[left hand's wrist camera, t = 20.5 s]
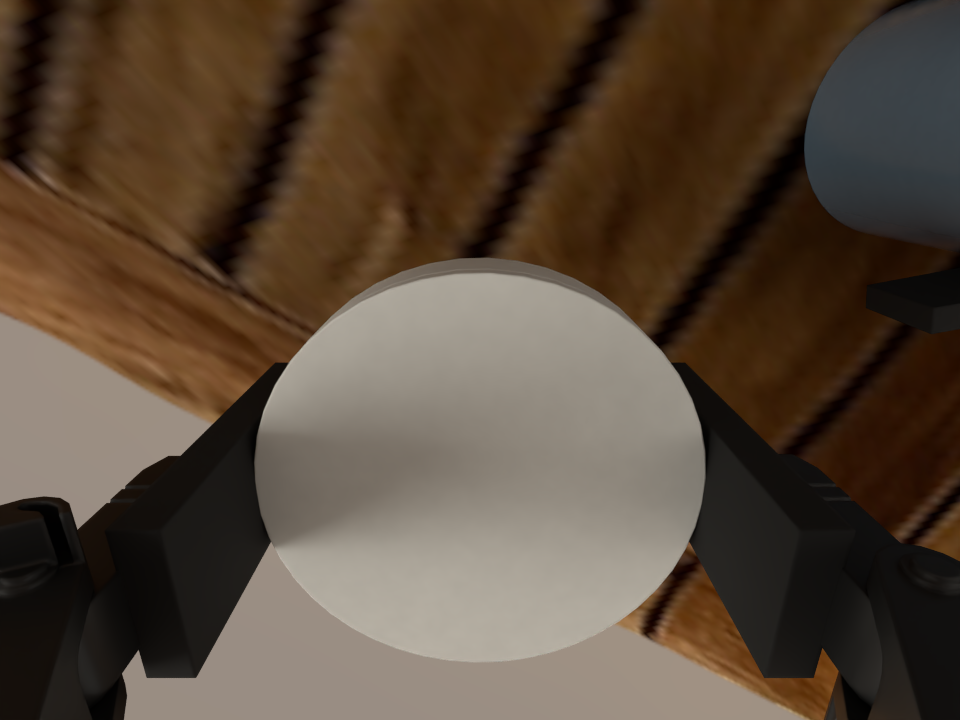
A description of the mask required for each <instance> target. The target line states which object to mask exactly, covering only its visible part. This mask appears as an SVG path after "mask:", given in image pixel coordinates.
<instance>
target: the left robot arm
mask: <svg viewBox="0 0 960 720" xmlns="http://www.w3.org/2000/svg"><path fill="white" fill-rule="evenodd" d="M288 364H289V363H275V364H274V365H273V366H272V367H271V368H269V369H268V370H267V371H266V372H265V373H264V374H263V375H262V376H261V377H260V378H259V379H258V380H257V381H256V382H255V383H254V384H253V385H252V386H251V387H250V388H249V389H248V390H247V391H246V392H245V393H244V394H243V395H242V396H241V397H240V398H239V399H238V400H237V401H236V402H235V403H234V404H233V405H232V406H231V407H230V408H229V409H228V410H227V411H226V412H225V413H224V414H223V415H222V416H221V417H220V418H219V419H218V420H217V421H216V422H215V423H214V424H213V425H211V426H210V427H209V428H208V429H207V430H206V431H205V432H204V433H203V434H202V435H201V436H200V437H199V438H198V439H197V440H196V441H195V442H194V443H193V444H192V445H191V446H190V447H189V448H188V449H187V450H186V451H185V452H184V453H183V454H182V455H181V456H168V457H166V458H164V459H162V460H160V461H158V462H157V463H155V464H153V465H151V466H149V467H147V468H146V469H144V470H142V471H141V472H140V473H139V474H138V475H137V476H136V477H135V478H134V479H133V480H131V481H130V482H129V483H128V484H127V485H126V486H125V489H122V490H121V491H119V492H118V493H117V494H116V495H115V496H114V497H113V498H112V499H111V502H110V503H106V504H105V505H104V506H103V507H102V508H101V509H100V510H99V511H98V512H96V513H95V514H94V515H93V516H92V517H91V518H90V519H89V520H88V521H87V522H86V523H84V524H83V525H82V526H81V527H80V528H79V529H78V530H77V527H76V524H75V521H74V517H73V514H72V511H71V508H70V504H69V503H68V502H66V501H64V500H63V499H61V498H55V497H36V498H28V499H22V500H18V501H15V502H11V503H8V504H4V505H0V720H124V714H125V707H126V699H127V693H126V687H125V682H124V679H123V676H122V673H123V671H124V670H125V668H126V667H127V665H128V664H129V663H130V661H131V660H132V658H133V657H134V655H135V654H136V653H137V651H138V650H139V652H140V656H141V659H142V663H143V666H144V670H145V673H146V677H147V678H196V677H197V675H198V673H199V672H200V670H201V668H202V666H203V664H204V663H205V661H206V659H207V657H208V655H209V653H210V652H211V650H212V648H213V646H214V644H215V643H216V641H217V639H218V637H219V635H220V633H221V632H222V630H223V628H224V626H225V624H226V623H227V621H228V619H229V617H230V615H231V613H232V612H233V610H234V608H235V606H236V604H237V602H238V601H239V599H240V597H241V595H242V593H243V592H244V590H245V588H246V586H247V584H248V583H249V581H250V579H251V577H252V575H253V573H254V572H255V570H256V568H257V566H258V564H259V562H260V561H261V559H262V557H263V555H264V553H265V552H266V550H267V548H268V546H269V544H270V543H271V540H270V538H269V536H268V533H267V530H266V528H265V525H264V522H263V519H262V516H261V513H260V507H259V501H258V496H257V490H256V483H255V470H254V459H255V449H256V440H257V434H258V430H259V426H260V423H261V419H262V415H263V411H264V409H265V406H266V404H267V402H268V400H269V397H270V395H271V393H272V391H273V388H274V386H275V384H276V383H277V381H278V379H279V378H280V376H281V375H282V373H283V372H284V370H285V369H286V367H287V365H288ZM671 364H672V366H673V367H674V368H675V370H676V371H677V372H678V374H679V375H680V377H681V379H682V381H683V383H684V385H685V387H686V389H687V391H688V392H689V394H690V396H691V398H692V401H693V404H694V406H695V409H696V412H697V415H698V418H699V421H700V424H701V429H702V435H703V440H704V446H705V457H706V480H705V486H704V493H703V499H702V505H701V510H700V513H699V516H698V520H697V523H696V527H695V529H694V531H693V534H692V536H691V538H690V540H689V542H690V544H691V546H692V547H693V549H694V551H695V553H696V555H697V556H698V558H699V560H700V562H701V564H702V566H703V567H704V569H705V571H706V573H707V575H708V576H709V578H710V580H711V582H712V584H713V586H714V587H715V589H716V591H717V593H718V595H719V596H720V598H721V600H722V602H723V604H724V606H725V607H726V609H727V611H728V613H729V615H730V616H731V618H732V620H733V622H734V624H735V626H736V627H737V629H738V631H739V633H740V635H741V636H742V638H743V640H744V642H745V644H746V646H747V647H748V649H749V651H750V653H751V655H752V656H753V658H754V660H755V662H756V664H757V666H758V667H759V669H760V671H761V673H762V675H763V676H764V678H814V675H815V671H816V668H817V664H818V661H819V657H820V654H821V650H822V648H823V649H824V651H825V652H826V653H827V655H828V656H829V658H830V659H831V661H832V662H833V663H834V665H835V666H836V668H837V669H838V670H839V673H838V676H837V679H836V682H835V685H834V689H833V692H832V695H831V698H830V702H829V705H828V708H827V711H826V715H825V718H824V720H960V561H958V560H956V559H954V558H952V557H950V556H948V555H946V554H943V553H940V552H937V551H934V550H931V549H928V548H925V547H922V546H916V545H909V544H902V543H900V542H899V541H898V540H897V539H895V538H894V537H893V536H892V535H891V534H890V533H889V532H888V531H887V530H886V529H884V528H883V527H882V526H881V525H880V524H879V523H878V522H877V521H876V520H875V519H873V518H872V517H871V516H870V515H869V514H868V513H867V512H866V511H865V510H864V509H862V508H861V507H860V506H859V505H858V504H857V503H856V502H855V501H851V500H850V497H849V496H848V495H847V494H846V493H845V492H844V491H843V490H841V489H840V488H839V487H836V486H835V485H836V484H835V483H834V482H833V481H832V480H830V479H829V478H828V477H827V476H826V475H825V474H824V473H823V472H822V471H821V470H819V469H818V468H817V467H815V466H813V465H811V464H809V463H808V462H806V461H804V460H802V459H800V458H798V457H797V456H795V455H793V454H777V453H776V452H775V451H774V450H773V449H772V448H771V447H770V446H769V445H768V444H767V443H766V442H765V441H764V440H763V439H762V438H761V437H760V436H759V435H758V434H757V433H756V432H755V431H754V430H753V429H752V428H751V427H750V426H749V425H748V424H747V423H746V422H745V421H744V420H743V419H742V418H741V417H740V416H739V415H738V414H737V413H736V412H735V411H734V410H733V409H732V408H731V407H730V406H729V405H728V404H726V403H725V402H724V401H723V400H722V399H721V398H720V397H719V396H718V395H717V394H716V393H715V392H714V391H713V390H712V389H711V388H710V387H709V386H708V385H707V384H706V383H705V382H704V381H703V380H702V379H701V378H700V377H699V376H698V375H697V374H696V373H695V372H694V371H693V370H692V369H691V368H690V367H689V366H688V365H687V364H686V363H671Z"/></svg>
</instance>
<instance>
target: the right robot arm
mask: <svg viewBox="0 0 960 720" xmlns="http://www.w3.org/2000/svg"><path fill="white" fill-rule="evenodd" d="M866 308H867V309H870V310H872V311H875V312H877V313H880V314H882V315H885V316H887V317H890V318H893V319H895V320H898V321H900V322H903V323H905V324H908V325H910V326H913V327H915V328H918V329H920V330H923V331H925V332H928V333H930V334H934V333H940V332H945V331H951V330H956V329H960V268H957V269H951V270H946V271H941V272H935V273H930V274H925V275H919V276H914V277H909V278H903V279H898V280H893V281H888V282H882V283H877V284H872V285H867V297H866Z"/></svg>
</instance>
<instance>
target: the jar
mask: <svg viewBox="0 0 960 720" xmlns="http://www.w3.org/2000/svg"><path fill="white" fill-rule="evenodd" d="M804 153H805V165H806V169H807V174H808V178H809V181H810V183H811V186H812V189H813V191H814V193H815V194H816V196H817V198H818V200H819V202H820V203H821V204H822V205H823V207H824V208H825V209H826V210H827V212H829V213H830V214H831V215H832V216H833V217H834V218H835V219H836V220H838V221H839V222H841V223H843V224H844V225H846V226H847V227H850V228H852V229H854V230H857V231H859V232H863V233H867V234H870V235H875V236H880V237H885V238H890V239H895V240H900V241H905V242H909V243H914V244H919V245H924V246H929V247H934V248H939V249H944V250H948V251H953V252H958V253H960V0H913V1H910V2H908V3H906V4H904V5H901V6H899V7H897V8H895V9H893V10H891V11H890V12H888V13H886V14H885V15H883V16H881V17H880V18H878V19H877V20H875V21H874V22H873V23H871V24H870V25H869V26H868V27H866V28H865V29H864V30H863V31H861V32H860V33H859V34H858V35H857V36H856V37H855V38H854V39H853V40H852V41H851V42H850V43H849V44H848V45H847V47H846V48H845V49H844V50H843V51H842V52H841V54H840V55H839V56H838V57H837V59H836V60H835V62H834V63H833V64H832V66H831V67H830V69H829V70H828V72H827V74H826V75H825V77H824V79H823V81H822V83H821V84H820V86H819V88H818V91H817V93H816V96H815V98H814V100H813V103H812V106H811V109H810V113H809V116H808V120H807V126H806V132H805V144H804Z"/></svg>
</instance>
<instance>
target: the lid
mask: <svg viewBox="0 0 960 720" xmlns="http://www.w3.org/2000/svg"><path fill="white" fill-rule="evenodd" d="M254 470H255V483H256V490H257V496H258V501H259V507H260V513H261V516H262V519H263V522H264V525H265V528H266V530H267V533H268V536H269V538H270V540H271V542H272V544H273V546H274V548H275V549H276V551H277V553H278V555H279V557H280V559H281V560H282V562H283V563H284V565H285V566H286V567H287V569H288V570H289V572H290V573H291V574H292V576H293V577H294V579H295V580H296V581H297V582H298V583H299V584H300V585H301V586H302V587H303V589H304V590H305V591H306V592H307V593H308V594H309V595H310V596H311V597H312V598H313V599H314V600H315V601H316V602H318V603H319V604H320V605H321V606H322V607H323V608H325V609H326V610H327V611H328V612H329V613H330V614H332V615H333V616H335V617H336V618H338V619H339V620H341V621H342V622H344V623H345V624H347V625H348V626H350V627H351V628H353V629H355V630H357V631H359V632H360V633H362V634H364V635H366V636H368V637H370V638H372V639H374V640H376V641H379V642H381V643H384V644H386V645H389V646H391V647H394V648H397V649H400V650H403V651H407V652H410V653H414V654H417V655H421V656H426V657H431V658H437V659H443V660H449V661H463V662H501V661H509V660H518V659H525V658H529V657H534V656H539V655H543V654H548V653H551V652H554V651H557V650H560V649H563V648H566V647H569V646H572V645H575V644H577V643H579V642H581V641H584V640H586V639H588V638H590V637H592V636H595V635H597V634H598V633H600V632H602V631H604V630H605V629H607V628H609V627H610V626H612V625H614V624H616V623H617V622H619V621H620V620H621V619H623V618H624V617H625V616H627V615H628V614H629V613H631V612H632V611H633V610H635V609H636V608H638V607H639V606H640V605H641V604H642V603H643V602H644V601H645V600H646V599H647V598H648V597H649V596H650V595H651V594H652V593H653V592H655V591H656V590H657V588H658V587H659V586H660V585H661V583H662V582H663V581H664V580H665V579H666V577H667V576H668V575H669V574H670V573H671V571H672V570H673V568H674V567H675V565H676V564H677V562H678V560H679V559H680V557H681V556H682V554H683V552H684V551H685V549H686V547H687V545H688V542H689V540H690V538H691V536H692V534H693V531H694V529H695V527H696V523H697V520H698V516H699V513H700V510H701V505H702V499H703V493H704V486H705V480H706V457H705V446H704V440H703V435H702V429H701V424H700V421H699V418H698V415H697V412H696V409H695V406H694V404H693V401H692V398H691V396H690V394H689V392H688V391H687V389H686V387H685V385H684V383H683V381H682V379H681V377H680V375H679V374H678V372H677V371H676V370H675V368H674V367H673V366H672V364H671V363H670V362H669V360H668V359H667V357H666V356H665V355H664V353H663V352H662V351H661V350H660V349H659V348H658V347H657V346H656V345H655V343H654V342H653V341H652V340H651V339H650V338H649V337H648V336H647V335H646V334H645V333H644V332H643V331H642V330H641V329H640V328H639V327H638V326H637V325H636V324H635V323H634V322H633V321H632V320H631V319H630V318H629V317H628V316H627V315H626V314H625V313H624V312H623V311H622V310H621V309H620V308H619V307H618V306H616V305H615V304H614V303H612V302H611V301H610V300H608V299H607V298H606V297H604V296H603V295H602V294H600V293H599V292H597V291H596V290H594V289H592V288H590V287H588V286H587V285H585V284H583V283H581V282H579V281H578V280H576V279H574V278H572V277H569V276H566V275H564V274H561V273H559V272H556V271H553V270H551V269H548V268H545V267H541V266H537V265H533V264H528V263H524V262H520V261H513V260H504V259H494V258H469V259H454V260H448V261H442V262H436V263H430V264H426V265H423V266H420V267H416V268H413V269H410V270H406V271H403V272H400V273H398V274H396V275H394V276H392V277H389V278H387V279H385V280H383V281H381V282H379V283H376V284H375V285H373V286H371V287H370V288H368V289H367V290H365V291H363V292H362V293H360V294H359V295H357V296H356V297H354V298H352V299H351V300H350V301H349V302H348V303H346V304H345V305H344V306H343V307H342V308H341V309H339V310H338V311H337V312H336V313H335V314H334V315H332V316H331V317H330V318H329V319H328V320H327V321H326V322H325V323H324V325H323V326H322V327H321V328H320V329H319V330H318V331H317V332H316V333H315V334H314V335H313V336H312V337H311V338H310V339H309V340H308V341H307V343H306V344H305V345H304V346H303V347H302V348H301V349H300V350H299V352H298V353H297V354H296V355H295V356H294V357H293V358H292V360H291V361H290V362H289V364H288V365H287V367H286V369H285V370H284V372H283V373H282V375H281V376H280V378H279V379H278V381H277V383H276V384H275V386H274V388H273V391H272V393H271V395H270V397H269V400H268V402H267V404H266V406H265V409H264V411H263V415H262V419H261V423H260V426H259V430H258V434H257V440H256V449H255V459H254Z"/></svg>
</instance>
